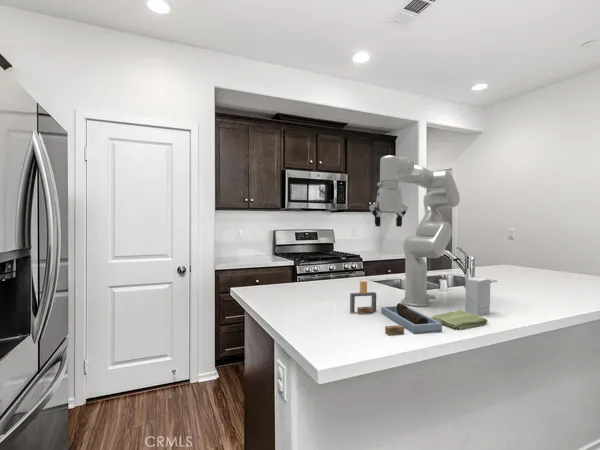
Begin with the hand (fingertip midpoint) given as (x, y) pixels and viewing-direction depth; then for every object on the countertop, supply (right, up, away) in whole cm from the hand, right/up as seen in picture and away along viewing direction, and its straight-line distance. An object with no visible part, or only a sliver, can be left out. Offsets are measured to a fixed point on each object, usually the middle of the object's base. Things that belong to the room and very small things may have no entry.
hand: (388, 226), depth 134 cm
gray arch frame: (-11, -36, 0) cm, 38 cm away
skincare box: (+38, -37, 0) cm, 53 cm away
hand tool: (+4, -36, -12) cm, 38 cm away
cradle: (-7, -37, -13) cm, 39 cm away
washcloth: (+24, -38, -12) cm, 46 cm away
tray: (+5, -37, -12) cm, 39 cm away
